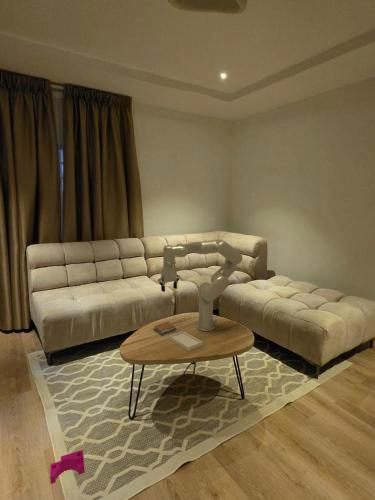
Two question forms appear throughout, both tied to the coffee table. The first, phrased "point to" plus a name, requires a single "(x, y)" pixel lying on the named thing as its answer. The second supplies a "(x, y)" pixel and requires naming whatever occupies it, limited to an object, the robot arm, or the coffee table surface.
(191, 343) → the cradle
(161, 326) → the latch flap
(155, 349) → the coffee table surface
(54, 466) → the toy block
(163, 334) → the hinge plinth
